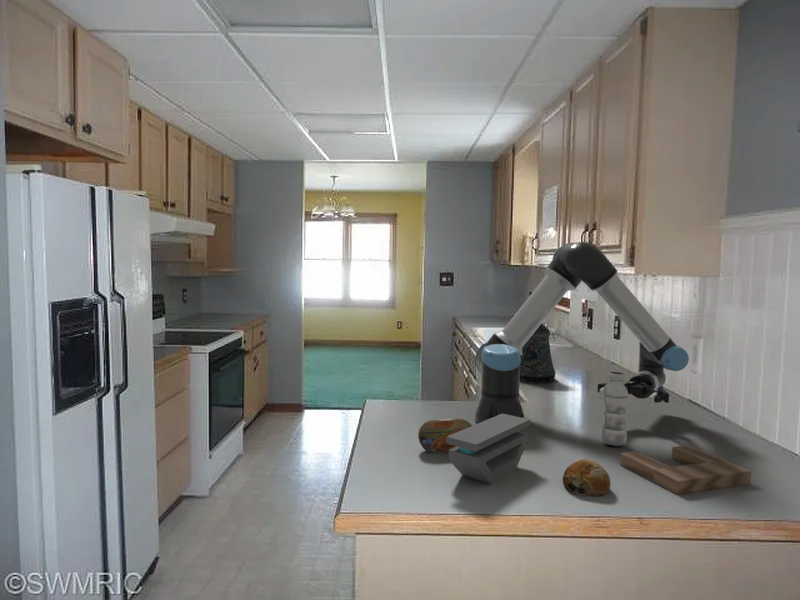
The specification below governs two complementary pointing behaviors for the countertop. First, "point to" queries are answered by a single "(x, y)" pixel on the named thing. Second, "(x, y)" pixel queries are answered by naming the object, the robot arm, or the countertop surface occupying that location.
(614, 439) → the plastic bottle
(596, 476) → the bread roll
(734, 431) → the countertop surface
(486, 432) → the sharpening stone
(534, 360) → the beer stein
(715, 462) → the notched board
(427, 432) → the tin
